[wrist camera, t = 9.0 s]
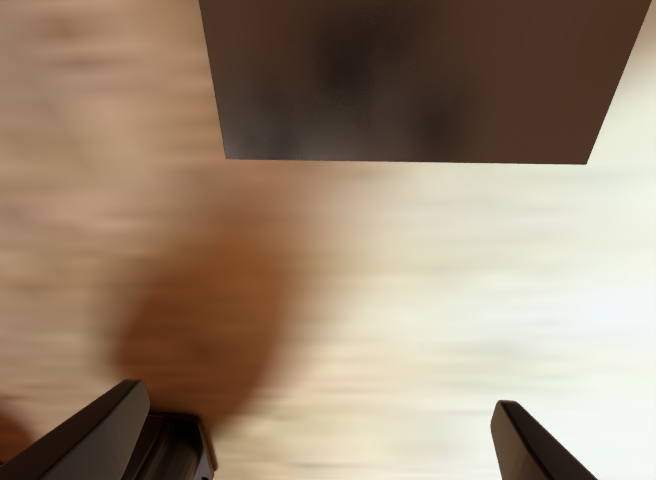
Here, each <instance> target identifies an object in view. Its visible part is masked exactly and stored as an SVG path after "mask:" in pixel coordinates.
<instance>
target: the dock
mask: <svg viewBox="0 0 656 480" xmlns="http://www.w3.org/2000/svg"><path fill="white" fill-rule="evenodd" d="M651 1H652V0H199V4H200V9H201V15H202V21H203V27H204V33H205V38H206V44H207V50H208V56H209V62H210V67H211V73H212V79H213V85H214V91H215V97H216V102H217V108H218V114H219V120H220V126H221V131H222V137H223V143H224V149H225V155H226V159H261V160H325V161H389V162H453V163H517V164H581V165H586V164H587V161H588V159H589V156H590V154H591V151H592V149H593V146H594V144H595V141H596V139H597V136H598V134H599V131H600V129H601V126H602V124H603V121H604V119H605V116H606V114H607V111H608V109H609V106H610V104H611V101H612V99H613V96H614V94H615V91H616V89H617V86H618V84H619V81H620V79H621V76H622V74H623V71H624V69H625V66H626V64H627V61H628V59H629V56H630V54H631V51H632V48H633V46H634V43H635V41H636V38H637V36H638V33H639V31H640V28H641V26H642V23H643V21H644V18H645V16H646V13H647V11H648V8H649V6H650V3H651Z"/></svg>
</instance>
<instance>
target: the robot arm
mask: <svg viewBox="0 0 656 480" xmlns="http://www.w3.org/2000/svg"><path fill="white" fill-rule="evenodd" d="M149 408H150V400H149V396H148V393H147V390H146V387H145V384H144V382H143V381H142V380H140V379H126V380H123V381H122V382H120V383H119V384H117V385H116V386H115V387H113V388H112V389H110V390H109V391H107V392H106V393H105V394H103V395H102V396H100V397H99V398H97V399H96V400H95V401H93V402H92V403H90V404H89V405H87V406H86V407H85V408H83V409H82V410H80V411H79V412H77V413H76V414H75V415H73V416H72V417H70V418H69V419H67V420H66V421H64V422H63V423H62V424H60V425H59V426H57V427H56V428H54V429H53V430H52V431H50V432H49V433H47V434H46V435H44V436H43V437H42V438H40V439H39V440H37V441H36V442H34V443H33V444H32V445H30V446H29V447H27V448H26V449H24V450H23V451H22V452H20V453H19V454H17V455H16V456H14V457H13V458H12V459H10V460H9V461H7V462H6V463H4V464H3V465H1V466H0V480H213V477H214V470H213V466H212V462H211V458H210V454H209V450H208V446H207V442H206V438H205V434H204V430H203V426H202V422H201V420H200V418H199V417H197V416H195V415H187V414H172V413H158V412H148V411H149ZM491 434H492V438H493V442H494V446H495V450H496V455H497V459H498V463H499V467H500V472H501V476H502V480H598V479H597V478H596V477H595V476H594V475H593V474H591V473H590V472H589V471H588V470H587V469H586V468H585V467H584V466H583V465H582V464H581V463H580V462H579V461H578V460H577V459H576V458H575V457H574V456H573V455H572V454H571V453H570V452H569V451H568V450H567V449H566V448H565V447H563V446H562V445H561V444H560V443H559V442H558V441H557V440H556V439H555V438H554V437H553V436H552V435H551V434H550V433H549V432H548V431H547V430H546V429H545V428H544V427H543V426H542V425H541V424H540V423H539V422H538V421H537V420H535V419H534V418H533V417H532V416H531V415H530V414H529V413H528V412H527V411H526V410H525V409H524V408H523V407H522V406H521V405H520V404H519V403H517V402H516V401H510V400H499V401H498V402H497V403H496V406H495V410H494V413H493V416H492V420H491Z"/></svg>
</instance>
